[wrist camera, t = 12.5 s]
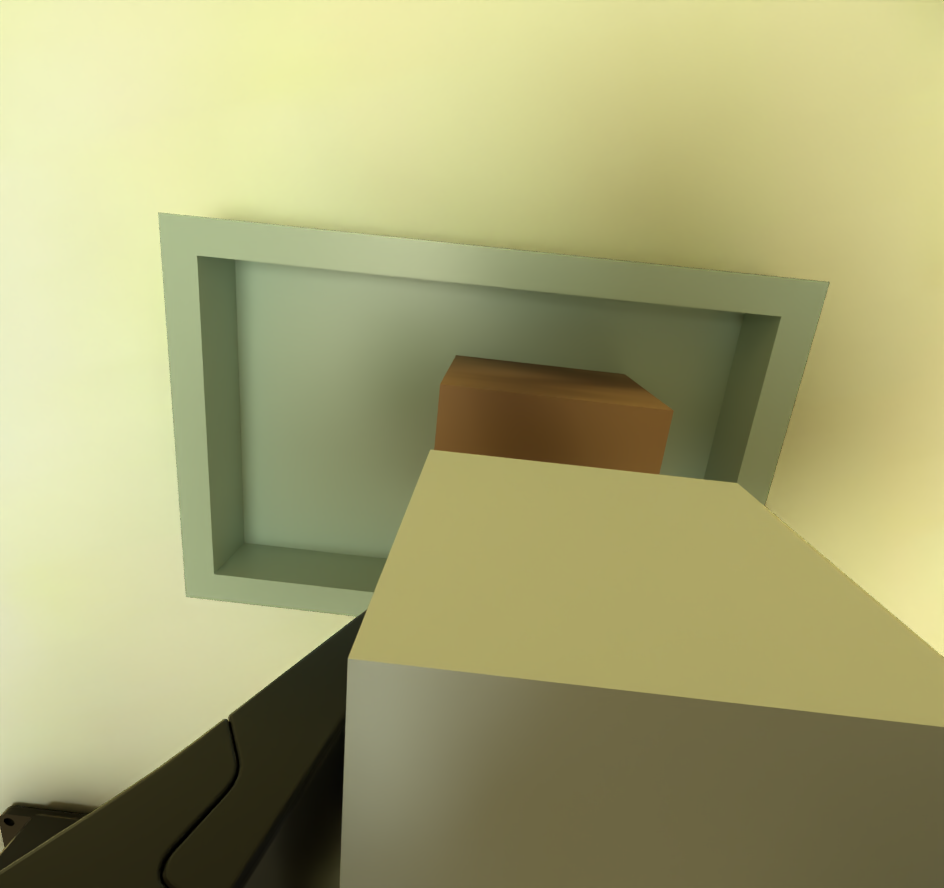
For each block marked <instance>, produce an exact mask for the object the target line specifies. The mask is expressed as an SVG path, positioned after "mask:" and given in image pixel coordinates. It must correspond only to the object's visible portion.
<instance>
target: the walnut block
mask: <svg viewBox="0 0 944 888" xmlns="http://www.w3.org/2000/svg"><path fill="white" fill-rule="evenodd" d="M673 412H674V410H672V409H671V408H670V407H668V406H667V405H665V404H664V403H663V402H661V401H660V400H659V399H657V398H656V397H655V396H653V395H652V394H651V393H649V392H648V391H647V390H645V389H644V388H643V387H641V386H640V385H639V384H637V383H636V382H635V381H633V380H632V379H631V378H629V377H628V376H627V375H625V374H619V373H610V372H601V371H592V370H583V369H575V368H566V367H557V366H548V365H539V364H530V363H521V362H513V361H504V360H495V359H486V358H477V357H468V356H460V355H456V356H455V358H454V360H453V362H452V363H451V365H450V367H449V369H448V371H447V372H446V374H445V376H444V378H443V380H442V381H441V383H440V390H439V402H438V413H437V424H436V435H435V447H434V450H439V451H448V452H457V453H466V454H476V455H485V456H494V457H503V458H512V459H521V460H530V461H540V462H549V463H558V464H567V465H576V466H585V467H595V468H604V469H613V470H622V471H631V472H640V473H649V474H659V473H660V469H661V465H662V460H663V456H664V451H665V447H666V443H667V438H668V434H669V429H670V425H671V421H672V416H673Z"/></svg>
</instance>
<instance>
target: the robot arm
mask: <svg viewBox="0 0 944 888" xmlns="http://www.w3.org/2000/svg"><path fill="white" fill-rule="evenodd" d="M366 611H367V610H365V611H364V612H363V613H361V614H360V615H359V616H357V617H356V618H355V619H354V620H352V621H351V622H350V623H348V624H347V625H346V626H344V627H343V628H342V629H341V630H339V631H338V632H337V633H335V634H334V635H333V636H331V637H330V638H329V639H328V640H326V641H325V642H324V643H322V644H321V645H320V646H318V647H317V648H316V649H315V650H313V651H312V652H311V653H309V654H308V655H307V656H305V657H304V658H303V659H302V660H300V661H299V662H298V663H296V664H295V665H294V666H292V667H291V668H290V669H289V670H287V671H286V672H285V673H283V674H282V675H281V676H279V677H278V678H277V679H276V680H274V681H273V682H272V683H270V684H269V685H268V686H266V687H265V688H264V689H262V690H261V691H260V692H259V693H257V694H256V695H255V696H253V697H252V698H251V699H249V700H248V701H247V702H246V703H244V704H243V705H242V706H240V707H239V708H238V709H236V710H235V711H234V712H233V713H231V714H230V715H229V717H228V720H227V719H223V720H222V721H221V722H219V723H218V724H217V725H215V726H214V727H213V728H211V729H210V730H209V731H207V732H206V733H205V734H204V735H202V736H201V737H200V738H198V739H197V740H196V741H194V742H193V743H191V744H190V745H189V746H187V747H186V748H185V749H183V750H182V751H181V752H179V753H178V754H176V755H175V756H174V757H172V758H171V759H170V760H168V761H167V762H166V763H164V764H163V765H161V766H160V767H159V768H157V769H156V770H154V771H153V772H151V773H150V774H148V775H147V776H145V777H144V778H142V779H141V780H139V781H138V782H136V783H135V784H133V785H132V786H130V787H129V788H127V789H126V790H124V791H123V792H121V793H120V794H118V795H117V796H115V797H114V798H112V799H111V800H109V801H108V802H106V803H105V804H103V805H102V806H100V807H99V808H97V809H96V810H94V811H92V812H91V813H89V814H88V815H84V814H76V813H68V812H60V811H51V810H43V809H35V808H27V807H18V806H10V807H8V808H7V809H6V810H5V811H4V812H3V814H2V815H1V816H0V829H1V833H2V837H3V842H4V846H5V849H4V850H3V851H2V852H1V853H0V888H340V863H341V835H342V807H343V780H344V752H345V724H346V696H347V668H348V657H349V654H350V652H351V649H352V647H353V644H354V642H355V639H356V637H357V634H358V631H359V629H360V626H361V624H362V621H363V619H364V616H365V614H366Z"/></svg>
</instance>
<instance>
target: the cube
mask: <svg viewBox="0 0 944 888" xmlns="http://www.w3.org/2000/svg"><path fill="white" fill-rule="evenodd" d="M340 888H944V657H943V656H942V655H940V654H939V653H938V652H937V651H936V650H934V649H933V648H932V647H931V646H930V645H929V644H927V643H926V642H925V641H924V640H923V639H921V638H920V637H919V636H918V635H917V634H915V633H914V632H913V631H912V630H911V629H910V628H908V627H907V626H906V625H905V624H904V623H902V622H901V621H900V620H899V619H898V618H897V617H895V616H894V615H893V614H892V613H891V612H889V611H888V610H887V609H886V608H885V607H883V606H882V605H881V604H880V603H879V602H878V601H876V600H875V599H874V598H873V597H872V596H870V595H869V594H868V593H867V592H866V591H865V590H863V589H862V588H861V587H860V586H859V585H857V584H856V583H855V582H854V581H853V580H852V579H850V578H849V577H848V576H847V575H846V574H844V573H843V572H842V571H841V570H840V569H838V568H837V567H836V566H835V565H834V564H833V563H831V562H830V561H829V560H828V559H827V558H825V557H824V556H823V555H822V554H821V553H820V552H818V551H817V550H816V549H815V548H814V547H812V546H811V545H810V544H809V543H808V542H806V541H805V540H804V539H803V538H802V537H801V536H799V535H798V534H797V533H796V532H795V531H793V530H792V529H791V528H790V527H789V526H788V525H786V524H785V523H784V522H783V521H782V520H780V519H779V518H778V517H777V516H776V515H774V514H773V513H772V512H771V511H770V510H769V509H767V508H766V507H765V506H764V505H763V504H761V503H760V502H759V501H758V500H757V499H756V498H754V497H753V496H752V495H751V494H750V493H748V492H747V491H746V490H745V489H744V488H742V487H741V486H740V485H739V484H738V483H732V482H723V481H713V480H704V479H695V478H686V477H677V476H668V475H659V474H649V473H640V472H631V471H622V470H613V469H604V468H595V467H585V466H576V465H567V464H558V463H549V462H540V461H530V460H521V459H512V458H503V457H494V456H485V455H476V454H466V453H457V452H448V451H439V450H430V452H429V454H428V457H427V459H426V462H425V464H424V467H423V469H422V472H421V474H420V477H419V479H418V482H417V485H416V487H415V490H414V492H413V495H412V497H411V500H410V502H409V505H408V507H407V510H406V512H405V515H404V517H403V520H402V523H401V525H400V528H399V530H398V533H397V535H396V538H395V540H394V543H393V545H392V548H391V550H390V553H389V555H388V558H387V561H386V563H385V566H384V568H383V571H382V573H381V576H380V578H379V581H378V583H377V586H376V588H375V591H374V593H373V596H372V599H371V601H370V604H369V606H368V609H367V611H366V614H365V616H364V619H363V621H362V624H361V626H360V629H359V631H358V634H357V637H356V639H355V642H354V644H353V647H352V649H351V652H350V654H349V657H348V668H347V696H346V724H345V752H344V780H343V807H342V835H341V863H340Z"/></svg>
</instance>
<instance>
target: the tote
mask: <svg viewBox="0 0 944 888" xmlns="http://www.w3.org/2000/svg"><path fill="white" fill-rule="evenodd" d="M158 215H159V229H160V243H161V257H162V271H163V284H164V298H165V312H166V326H167V340H168V354H169V367H170V381H171V395H172V409H173V423H174V437H175V451H176V464H177V478H178V492H179V506H180V520H181V534H182V547H183V561H184V575H185V589H186V597H191V598H200V599H208V600H217V601H226V602H235V603H243V604H252V605H261V606H270V607H278V608H287V609H296V610H304V611H313V612H322V613H331V614H339V615H348V616H359V615H360V614H361V613H363V612H364V611H365V610H367V609H368V606H369V604H370V601H371V599H372V596H373V593H374V591H375V588H376V586H377V583H378V581H379V578H380V576H381V573H382V571H383V568H384V566H385V563H386V561H387V558H388V555H389V553H390V550H391V548H392V545H393V543H394V540H395V538H396V535H397V533H398V530H399V528H400V525H401V523H402V520H403V517H404V515H405V512H406V510H407V507H408V505H409V502H410V500H411V497H412V495H413V492H414V490H415V487H416V485H417V482H418V479H419V477H420V474H421V472H422V469H423V467H424V464H425V462H426V459H427V457H428V454H429V452H430V450H434V447H435V435H436V424H437V413H438V402H439V390H440V383H441V381H442V380H443V378H444V376H445V374H446V372H447V371H448V369H449V367H450V365H451V363H452V362H453V360H454V358H455V356H456V355H460V356H468V357H477V358H486V359H495V360H504V361H513V362H521V363H530V364H539V365H548V366H557V367H566V368H575V369H583V370H592V371H601V372H610V373H619V374H625V375H627V376H628V377H629V378H631V379H632V380H633V381H635V382H636V383H637V384H639V385H640V386H641V387H643V388H644V389H645V390H647V391H648V392H649V393H651V394H652V395H653V396H655V397H656V398H657V399H659V400H660V401H661V402H663V403H664V404H665V405H667V406H668V407H670V408H671V409H672V410H674V412H673V416H672V421H671V425H670V429H669V434H668V438H667V443H666V447H665V451H664V456H663V460H662V465H661V469H660V473H659V475H668V476H677V477H686V478H695V479H704V480H713V481H723V482H732V483H738V484H739V485H740V486H741V487H742V488H744V489H745V490H746V491H747V492H748V493H750V494H751V495H752V496H753V497H754V498H756V499H757V500H758V501H759V502H760V503H761V504H763V505H764V506H765V503H766V500H767V497H768V493H769V490H770V486H771V483H772V479H773V476H774V472H775V469H776V466H777V462H778V459H779V455H780V452H781V448H782V445H783V441H784V438H785V434H786V431H787V428H788V424H789V421H790V417H791V414H792V410H793V407H794V403H795V400H796V396H797V393H798V390H799V386H800V383H801V379H802V376H803V372H804V369H805V365H806V362H807V359H808V355H809V352H810V348H811V345H812V341H813V338H814V334H815V331H816V327H817V324H818V321H819V317H820V314H821V310H822V307H823V303H824V300H825V296H826V293H827V289H828V286H829V283H830V282H824V281H815V280H805V279H795V278H786V277H776V276H766V275H757V274H747V273H737V272H728V271H718V270H708V269H699V268H689V267H680V266H670V265H660V264H651V263H641V262H631V261H622V260H612V259H602V258H593V257H583V256H574V255H564V254H554V253H545V252H535V251H525V250H516V249H506V248H496V247H487V246H477V245H468V244H458V243H448V242H439V241H429V240H419V239H410V238H400V237H390V236H381V235H371V234H362V233H352V232H342V231H333V230H323V229H313V228H304V227H294V226H284V225H275V224H265V223H256V222H246V221H236V220H227V219H217V218H207V217H198V216H188V215H178V214H169V213H159V212H158Z"/></svg>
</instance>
